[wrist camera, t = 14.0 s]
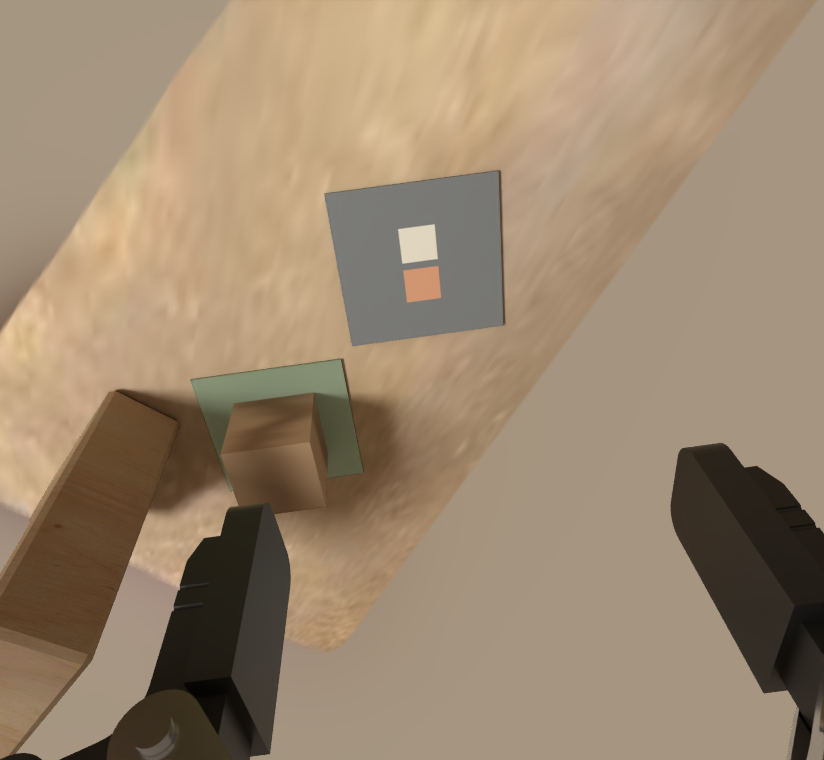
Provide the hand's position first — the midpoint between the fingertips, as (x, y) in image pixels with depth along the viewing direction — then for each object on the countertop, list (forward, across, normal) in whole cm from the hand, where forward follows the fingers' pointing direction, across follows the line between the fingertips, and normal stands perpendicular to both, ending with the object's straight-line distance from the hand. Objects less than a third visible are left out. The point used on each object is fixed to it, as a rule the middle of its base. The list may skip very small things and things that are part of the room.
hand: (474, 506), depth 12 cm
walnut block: (+30, +12, +20) cm, 38 cm away
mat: (+30, +12, +20) cm, 38 cm away
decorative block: (+30, +25, +20) cm, 44 cm away
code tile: (+30, 0, +8) cm, 32 cm away
